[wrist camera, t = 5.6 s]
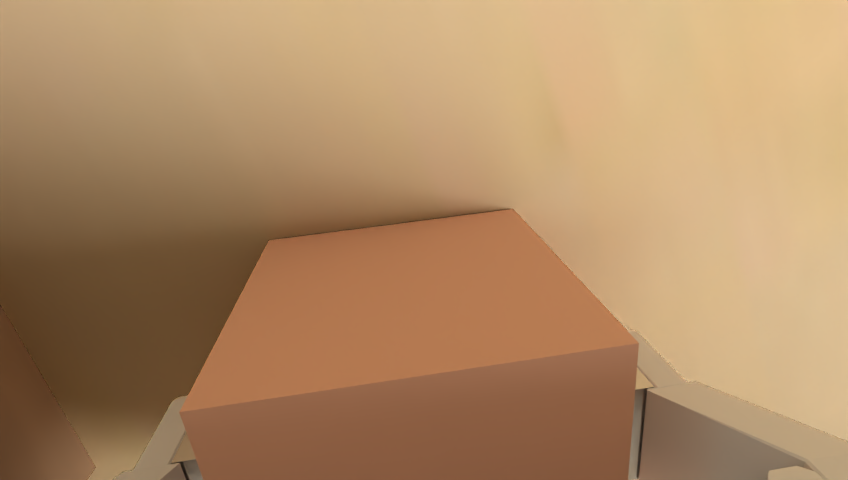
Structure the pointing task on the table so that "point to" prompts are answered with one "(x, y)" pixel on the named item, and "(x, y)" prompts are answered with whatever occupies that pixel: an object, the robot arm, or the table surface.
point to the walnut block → (33, 420)
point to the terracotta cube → (416, 362)
